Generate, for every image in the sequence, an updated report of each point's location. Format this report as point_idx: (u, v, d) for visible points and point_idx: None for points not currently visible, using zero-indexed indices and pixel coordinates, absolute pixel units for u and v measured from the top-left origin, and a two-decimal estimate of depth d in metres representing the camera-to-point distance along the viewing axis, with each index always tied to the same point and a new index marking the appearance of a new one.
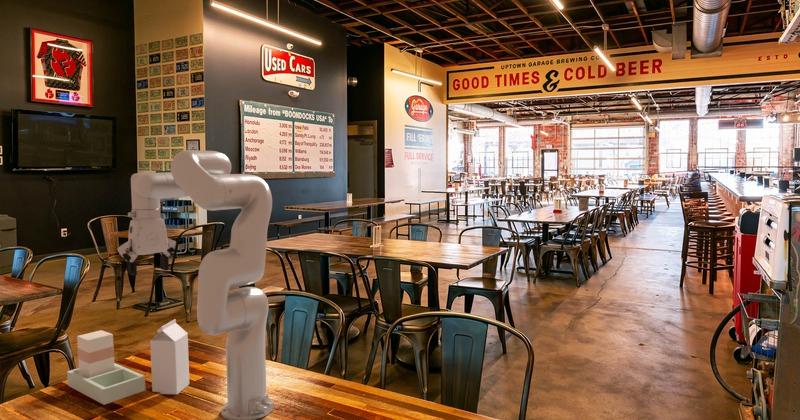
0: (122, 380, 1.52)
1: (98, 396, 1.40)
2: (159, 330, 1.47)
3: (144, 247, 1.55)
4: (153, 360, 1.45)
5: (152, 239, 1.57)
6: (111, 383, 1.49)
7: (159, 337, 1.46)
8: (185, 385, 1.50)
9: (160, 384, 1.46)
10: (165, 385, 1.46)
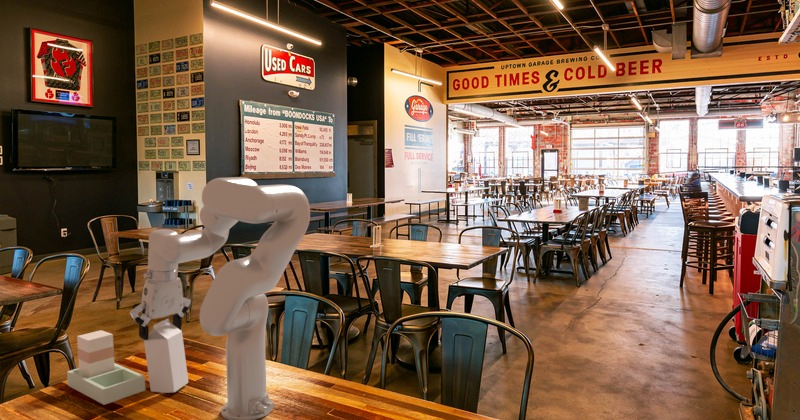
0: (122, 380, 1.52)
1: (98, 396, 1.40)
2: (152, 329, 1.48)
3: (158, 311, 1.45)
4: (148, 359, 1.46)
5: (167, 301, 1.46)
6: (111, 383, 1.49)
7: (153, 336, 1.47)
8: (183, 383, 1.50)
9: (158, 383, 1.46)
10: (163, 384, 1.45)
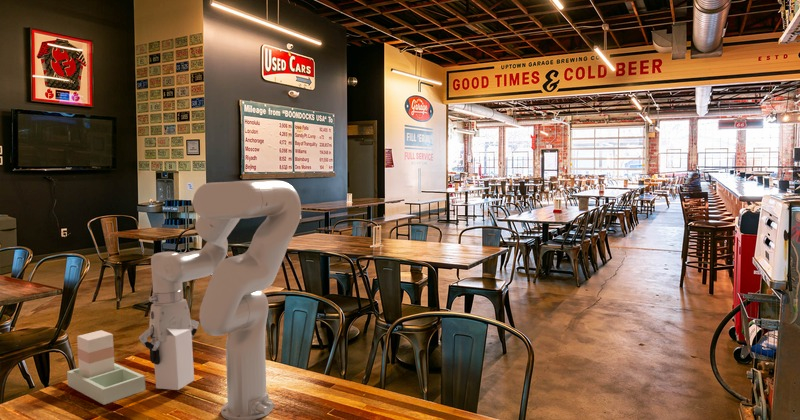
0: (122, 380, 1.52)
1: (98, 396, 1.40)
2: None
3: (167, 333, 1.44)
4: None
5: (175, 323, 1.46)
6: (111, 383, 1.49)
7: None
8: (189, 381, 1.49)
9: (163, 379, 1.45)
10: (168, 380, 1.45)
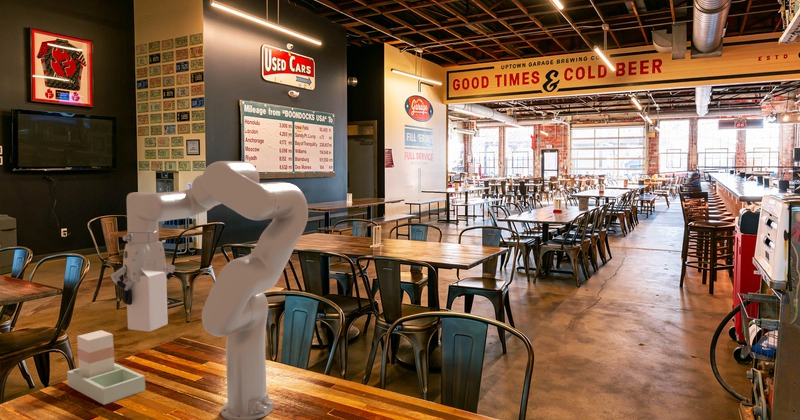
0: (122, 380, 1.52)
1: (98, 396, 1.40)
2: None
3: (140, 273, 1.42)
4: None
5: (148, 264, 1.43)
6: (111, 383, 1.49)
7: None
8: (162, 324, 1.47)
9: (135, 320, 1.43)
10: (139, 322, 1.43)
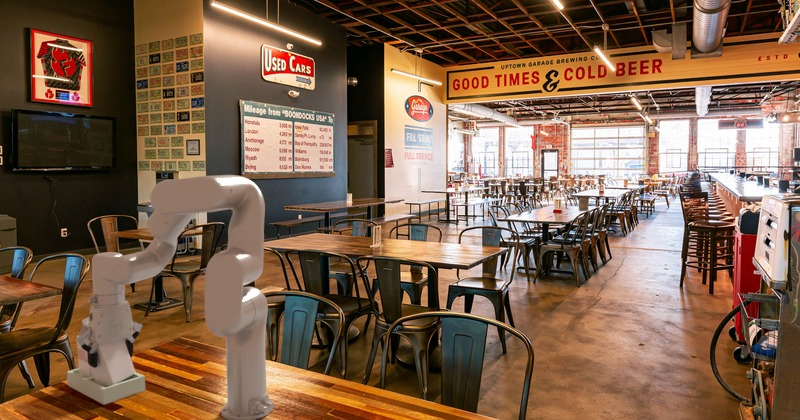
0: (122, 380, 1.52)
1: (98, 396, 1.40)
2: None
3: (105, 336, 1.41)
4: (86, 355, 1.43)
5: (114, 326, 1.42)
6: None
7: None
8: (128, 374, 1.45)
9: (99, 377, 1.43)
10: (103, 378, 1.42)
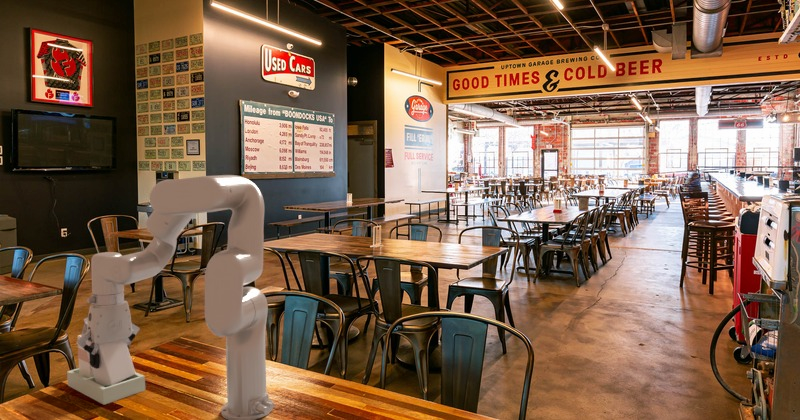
0: (122, 380, 1.52)
1: (98, 396, 1.40)
2: None
3: (104, 336, 1.41)
4: (88, 353, 1.44)
5: (113, 326, 1.42)
6: None
7: None
8: (127, 375, 1.45)
9: (99, 377, 1.43)
10: (102, 377, 1.43)
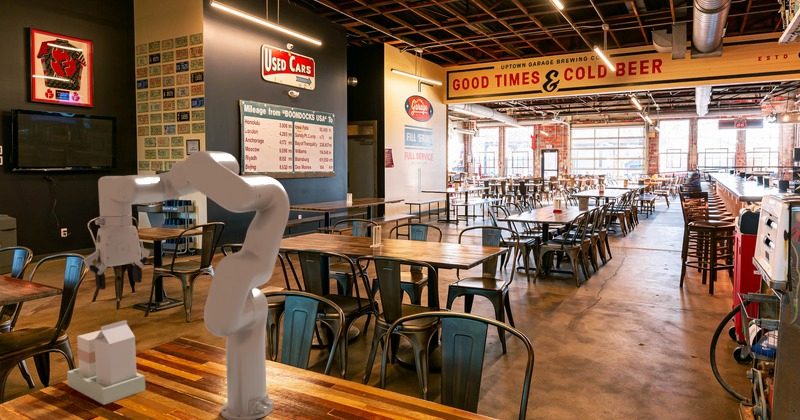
0: None
1: (98, 396, 1.40)
2: None
3: (114, 258, 1.40)
4: (96, 359, 1.44)
5: (122, 248, 1.42)
6: None
7: (104, 337, 1.44)
8: None
9: (102, 385, 1.43)
10: None
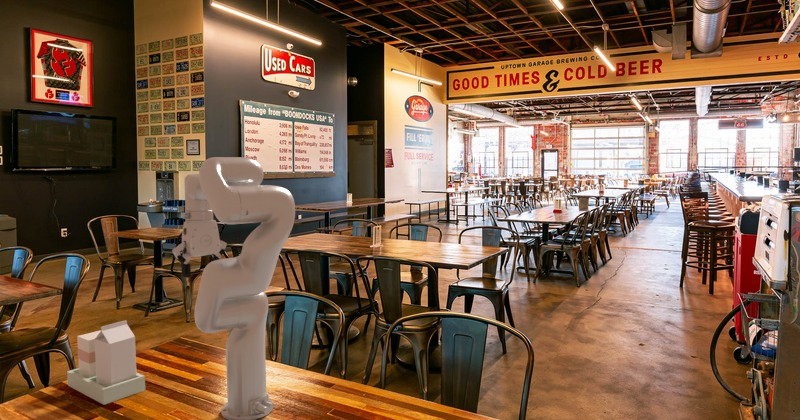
0: None
1: (98, 396, 1.40)
2: None
3: (198, 249, 1.53)
4: (96, 359, 1.44)
5: (205, 240, 1.55)
6: None
7: (104, 337, 1.44)
8: None
9: (102, 385, 1.43)
10: None
